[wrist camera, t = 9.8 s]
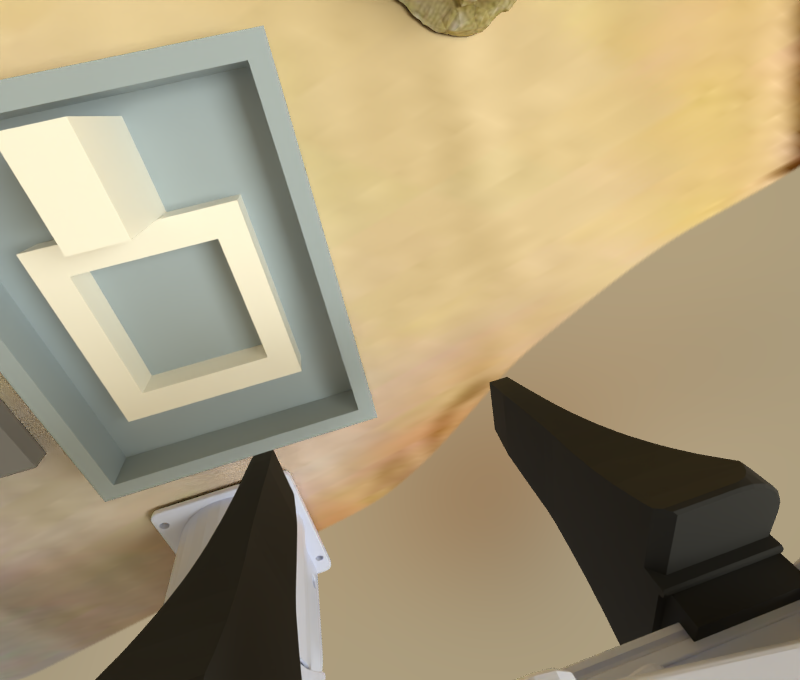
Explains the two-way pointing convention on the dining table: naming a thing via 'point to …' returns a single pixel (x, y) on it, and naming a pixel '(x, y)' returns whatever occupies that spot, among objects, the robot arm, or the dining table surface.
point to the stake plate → (16, 445)
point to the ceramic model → (457, 14)
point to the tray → (182, 268)
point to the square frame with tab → (130, 240)
